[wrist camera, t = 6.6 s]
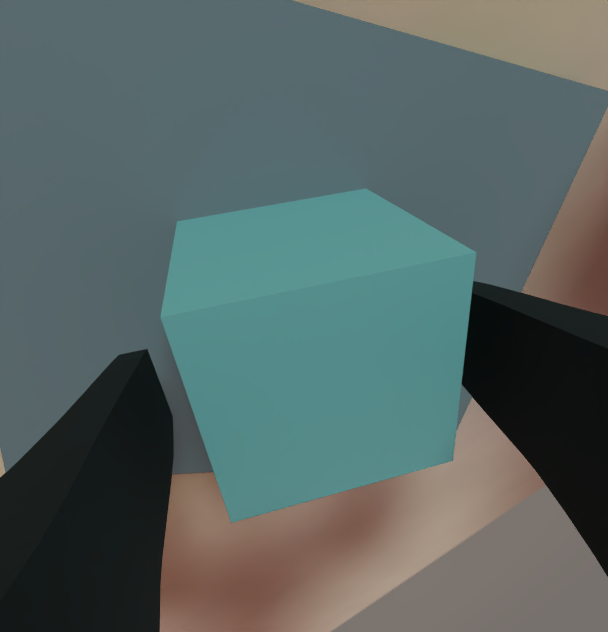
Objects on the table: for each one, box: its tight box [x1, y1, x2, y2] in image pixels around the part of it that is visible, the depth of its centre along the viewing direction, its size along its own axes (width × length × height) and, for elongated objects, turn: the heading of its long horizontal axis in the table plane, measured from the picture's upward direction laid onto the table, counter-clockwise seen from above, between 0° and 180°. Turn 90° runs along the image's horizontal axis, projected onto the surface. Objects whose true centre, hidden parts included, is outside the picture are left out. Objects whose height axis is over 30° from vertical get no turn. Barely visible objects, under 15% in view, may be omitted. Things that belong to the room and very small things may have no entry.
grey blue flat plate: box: [0, 0, 608, 474], centre depth 12 cm, size 16×14×1 cm
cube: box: [160, 189, 476, 523], centre depth 10 cm, size 5×5×5 cm
